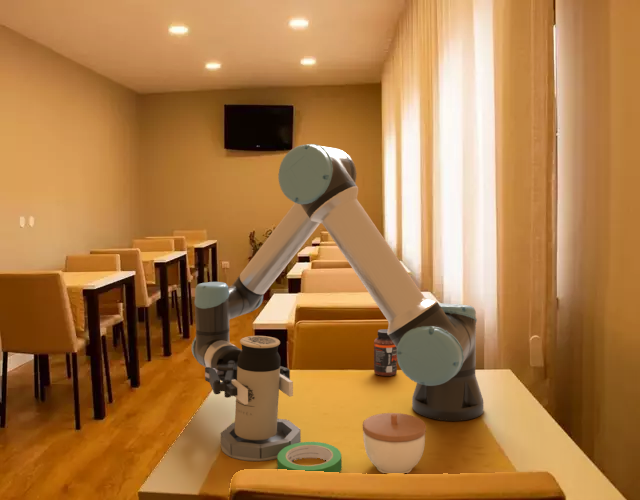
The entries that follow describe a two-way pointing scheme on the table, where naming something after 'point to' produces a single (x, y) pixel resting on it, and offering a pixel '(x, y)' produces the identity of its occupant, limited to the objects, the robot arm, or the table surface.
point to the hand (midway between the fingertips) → (268, 392)
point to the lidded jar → (394, 441)
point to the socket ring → (259, 443)
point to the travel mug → (258, 388)
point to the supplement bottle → (384, 355)
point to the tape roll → (310, 451)
